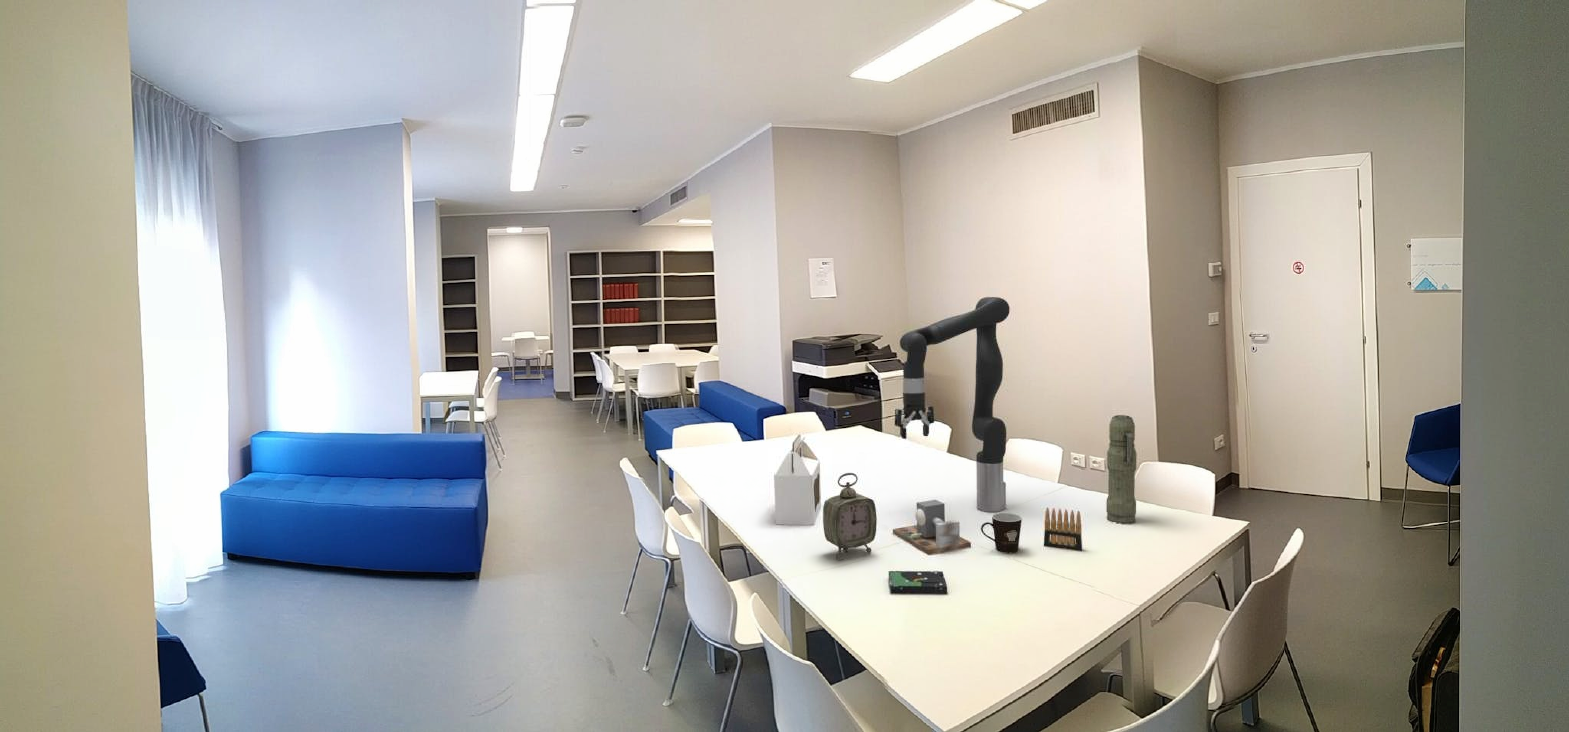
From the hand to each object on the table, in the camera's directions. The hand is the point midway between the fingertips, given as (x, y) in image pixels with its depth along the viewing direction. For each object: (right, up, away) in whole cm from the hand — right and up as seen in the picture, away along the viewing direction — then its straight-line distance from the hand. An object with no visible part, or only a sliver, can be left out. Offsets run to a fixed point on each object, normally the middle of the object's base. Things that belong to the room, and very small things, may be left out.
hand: (914, 437), depth 249 cm
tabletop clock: (-25, -32, -31) cm, 51 cm away
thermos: (+67, -27, -9) cm, 73 cm away
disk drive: (-10, -35, -56) cm, 67 cm away
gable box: (-40, -29, +9) cm, 50 cm away
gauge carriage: (0, -29, -24) cm, 37 cm away
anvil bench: (+1, -30, -21) cm, 37 cm away
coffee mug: (+21, -31, -31) cm, 49 cm away
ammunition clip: (+39, -30, -32) cm, 59 cm away
